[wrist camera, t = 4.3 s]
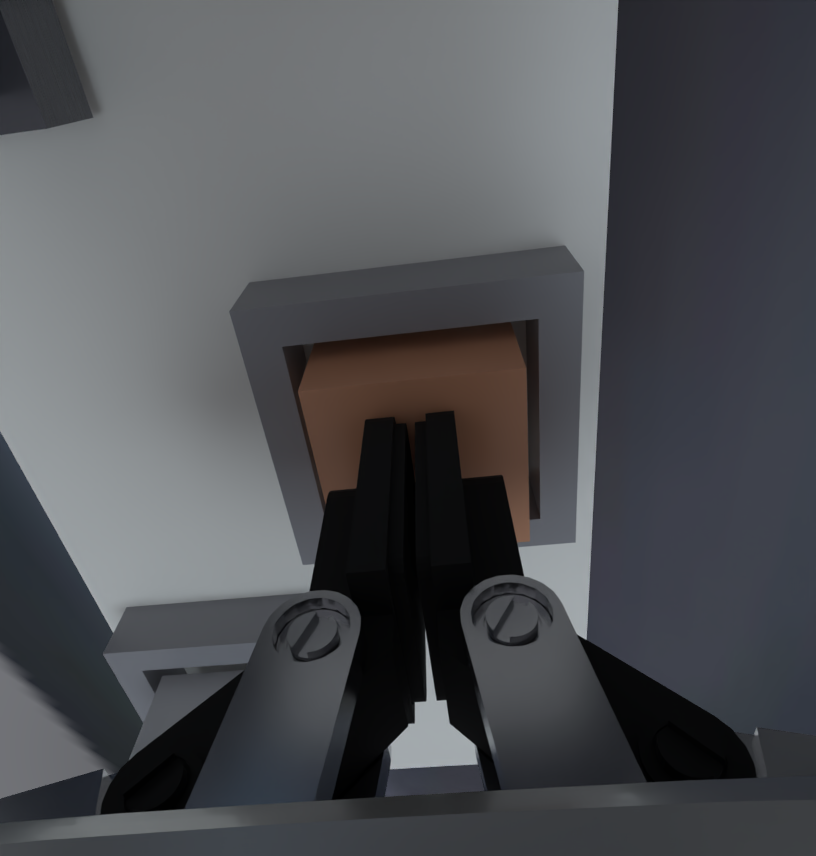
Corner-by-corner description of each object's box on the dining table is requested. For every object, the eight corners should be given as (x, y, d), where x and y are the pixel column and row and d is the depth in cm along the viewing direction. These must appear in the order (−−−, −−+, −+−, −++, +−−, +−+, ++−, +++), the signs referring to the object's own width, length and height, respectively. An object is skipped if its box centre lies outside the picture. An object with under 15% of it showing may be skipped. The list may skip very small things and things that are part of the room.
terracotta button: (508, 315, 13) (526, 368, 11) (513, 472, 15) (529, 541, 13) (316, 336, 13) (297, 391, 11) (348, 487, 15) (338, 557, 13)
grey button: (304, 665, 17) (288, 752, 15) (331, 748, 19) (321, 834, 17) (162, 675, 17) (128, 761, 15) (204, 756, 19) (180, 841, 17)
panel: (591, -686, 8) (744, -1318, 4) (563, 683, 24) (591, 805, 20) (-338, -479, 9) (-872, -848, 5) (217, 705, 25) (182, 827, 21)
